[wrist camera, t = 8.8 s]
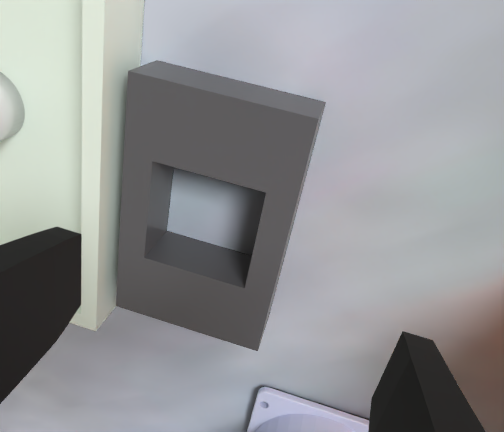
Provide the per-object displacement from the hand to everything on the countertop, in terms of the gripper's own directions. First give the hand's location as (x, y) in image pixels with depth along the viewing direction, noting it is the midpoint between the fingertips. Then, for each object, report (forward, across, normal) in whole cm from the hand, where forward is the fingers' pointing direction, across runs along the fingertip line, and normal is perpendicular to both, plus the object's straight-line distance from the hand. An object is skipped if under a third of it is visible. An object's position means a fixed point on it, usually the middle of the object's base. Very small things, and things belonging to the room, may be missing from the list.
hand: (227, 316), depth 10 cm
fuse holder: (+10, +3, +3) cm, 11 cm away
